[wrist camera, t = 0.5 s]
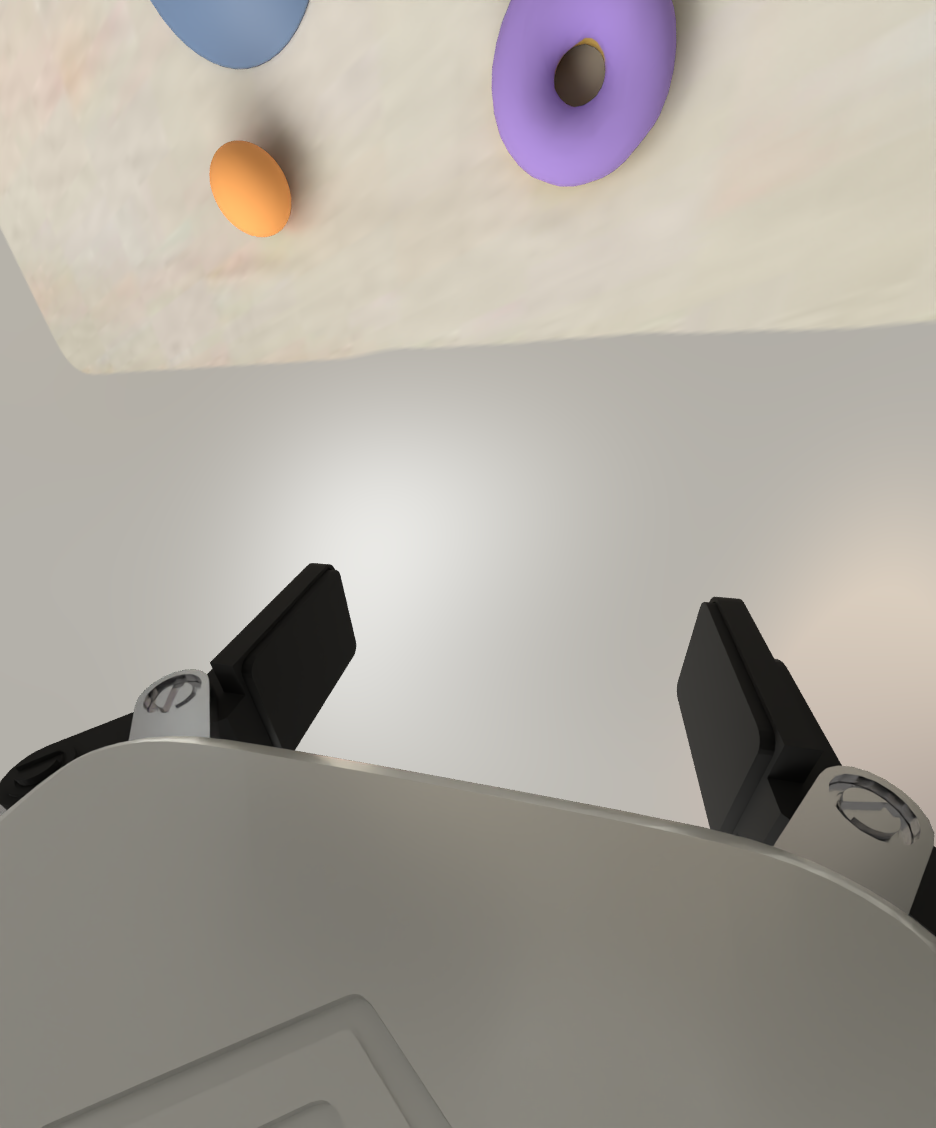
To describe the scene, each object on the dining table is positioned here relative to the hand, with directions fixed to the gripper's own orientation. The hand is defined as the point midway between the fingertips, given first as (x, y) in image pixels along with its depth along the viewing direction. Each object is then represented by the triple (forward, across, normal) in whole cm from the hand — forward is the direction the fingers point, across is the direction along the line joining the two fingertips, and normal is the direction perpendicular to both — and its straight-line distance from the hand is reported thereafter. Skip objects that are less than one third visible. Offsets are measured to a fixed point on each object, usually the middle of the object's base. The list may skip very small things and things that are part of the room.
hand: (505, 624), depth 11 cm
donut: (+29, 0, -18) cm, 34 cm away
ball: (+26, +21, -14) cm, 36 cm away
